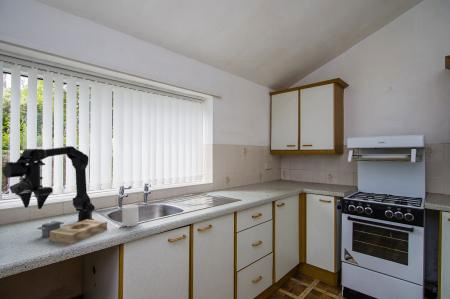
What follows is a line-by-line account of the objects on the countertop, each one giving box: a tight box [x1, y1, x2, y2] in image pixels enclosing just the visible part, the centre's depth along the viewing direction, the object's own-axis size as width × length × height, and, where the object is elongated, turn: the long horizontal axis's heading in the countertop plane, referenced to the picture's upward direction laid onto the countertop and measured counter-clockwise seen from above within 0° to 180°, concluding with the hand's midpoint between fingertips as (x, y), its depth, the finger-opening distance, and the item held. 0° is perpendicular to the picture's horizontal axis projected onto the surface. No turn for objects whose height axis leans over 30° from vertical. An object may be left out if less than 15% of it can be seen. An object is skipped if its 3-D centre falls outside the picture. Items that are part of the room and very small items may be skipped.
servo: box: [37, 220, 65, 239], centre depth 117 cm, size 10×4×7 cm, turn 162°
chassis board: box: [49, 219, 108, 245], centre depth 118 cm, size 20×14×4 cm
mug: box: [121, 204, 139, 228], centre depth 134 cm, size 12×8×10 cm
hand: (33, 208), depth 112 cm, fingers open, 9 cm apart
